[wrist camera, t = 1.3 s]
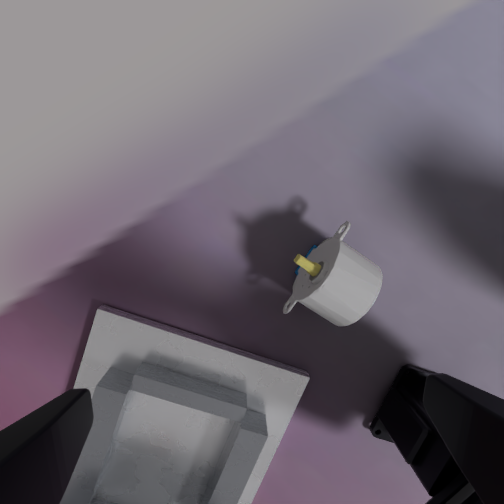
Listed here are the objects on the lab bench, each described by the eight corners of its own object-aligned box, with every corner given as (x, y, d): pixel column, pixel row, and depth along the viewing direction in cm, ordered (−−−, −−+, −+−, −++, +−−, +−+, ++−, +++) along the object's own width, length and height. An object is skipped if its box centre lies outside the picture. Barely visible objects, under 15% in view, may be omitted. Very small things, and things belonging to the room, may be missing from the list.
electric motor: (314, 204, 19) (340, 207, 14) (368, 242, 20) (410, 257, 15) (258, 285, 20) (264, 314, 15) (311, 318, 21) (334, 356, 16)
